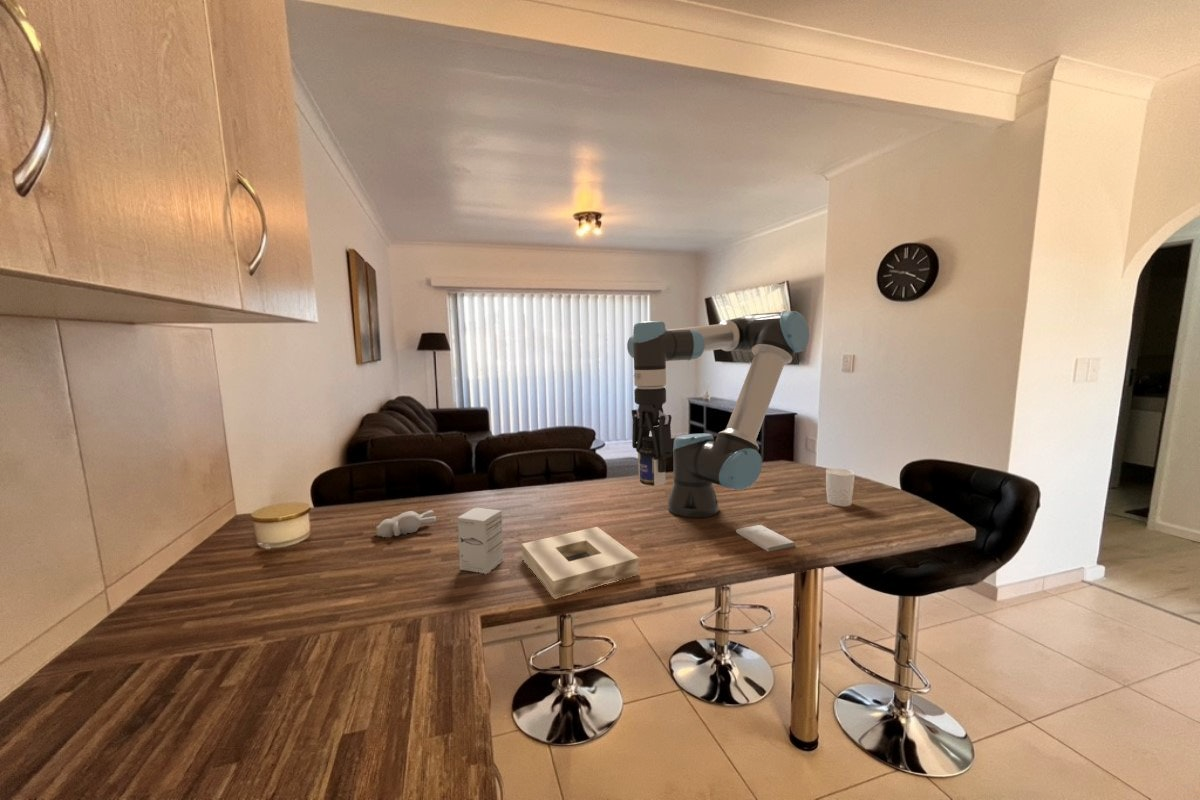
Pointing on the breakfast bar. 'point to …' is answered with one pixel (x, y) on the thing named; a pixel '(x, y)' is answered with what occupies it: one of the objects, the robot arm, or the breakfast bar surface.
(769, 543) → the external hard drive
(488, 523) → the supplement box
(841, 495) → the white cup
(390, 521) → the bunny figurine
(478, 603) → the breakfast bar surface
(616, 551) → the socket block
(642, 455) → the pill bottle
